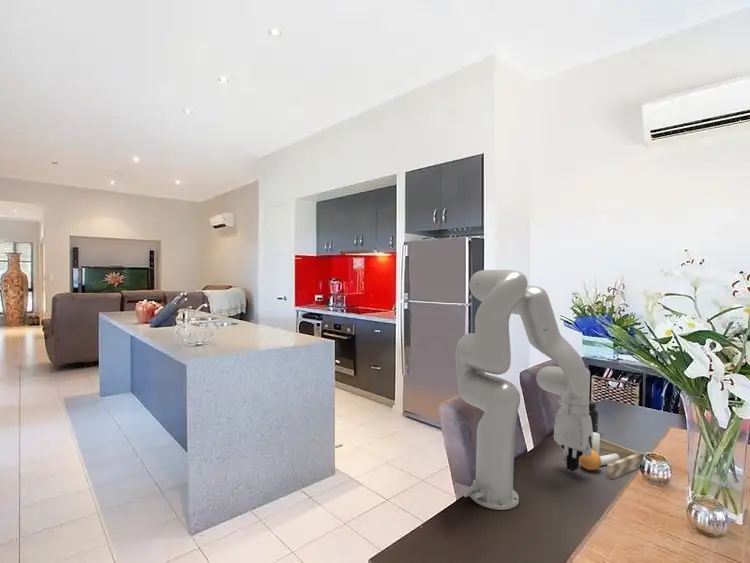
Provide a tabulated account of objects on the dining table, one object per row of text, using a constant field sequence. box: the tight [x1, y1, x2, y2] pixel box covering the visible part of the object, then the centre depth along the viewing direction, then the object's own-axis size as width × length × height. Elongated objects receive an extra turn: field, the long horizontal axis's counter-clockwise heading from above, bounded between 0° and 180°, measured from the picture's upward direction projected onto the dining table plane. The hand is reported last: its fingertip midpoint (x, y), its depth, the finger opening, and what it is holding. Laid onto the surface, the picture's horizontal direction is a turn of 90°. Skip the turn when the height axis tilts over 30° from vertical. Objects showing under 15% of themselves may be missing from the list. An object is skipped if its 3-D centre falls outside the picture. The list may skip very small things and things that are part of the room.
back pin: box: [591, 432, 601, 456], centre depth 136 cm, size 3×3×8 cm
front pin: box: [599, 453, 620, 467], centre depth 133 cm, size 3×3×8 cm
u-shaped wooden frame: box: [563, 437, 645, 480], centre depth 134 cm, size 18×15×4 cm
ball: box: [579, 450, 601, 471], centre depth 129 cm, size 6×6×6 cm
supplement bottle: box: [589, 400, 600, 433], centre depth 158 cm, size 7×7×12 cm
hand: (572, 468), depth 126 cm, fingers closed
